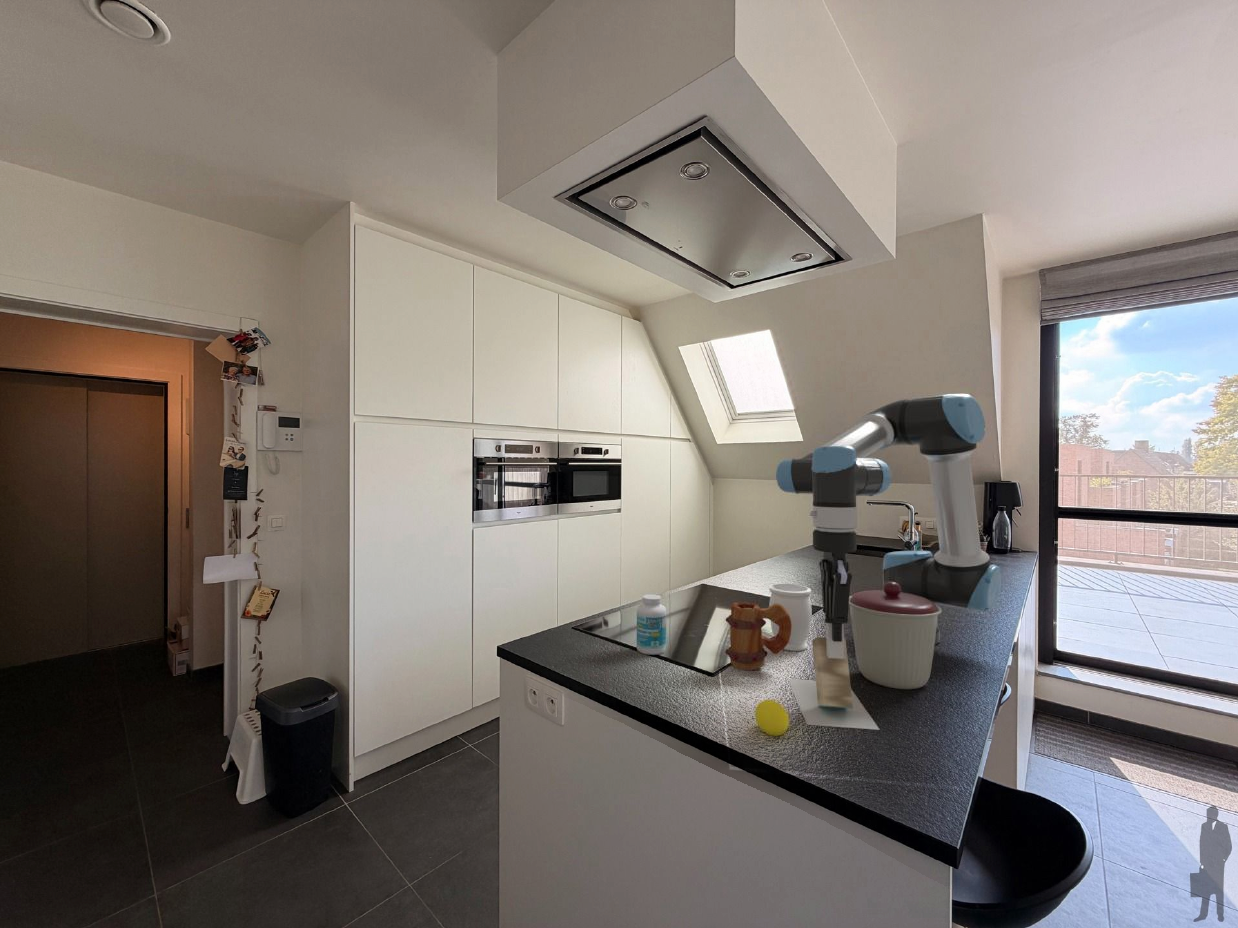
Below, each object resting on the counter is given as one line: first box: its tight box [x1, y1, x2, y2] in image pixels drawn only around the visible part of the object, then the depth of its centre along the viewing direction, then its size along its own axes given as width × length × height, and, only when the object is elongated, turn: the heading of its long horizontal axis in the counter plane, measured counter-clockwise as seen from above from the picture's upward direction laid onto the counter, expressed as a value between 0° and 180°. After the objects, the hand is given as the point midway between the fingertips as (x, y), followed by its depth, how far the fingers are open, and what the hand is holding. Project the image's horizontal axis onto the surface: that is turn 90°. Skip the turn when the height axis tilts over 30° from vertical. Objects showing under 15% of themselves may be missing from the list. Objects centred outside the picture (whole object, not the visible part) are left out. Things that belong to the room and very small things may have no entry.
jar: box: [768, 583, 813, 652], centre depth 132 cm, size 11×10×15 cm
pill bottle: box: [636, 594, 667, 656], centre depth 129 cm, size 8×7×14 cm
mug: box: [724, 602, 792, 671], centre depth 117 cm, size 15×8×15 cm, turn 70°
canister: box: [849, 582, 943, 690], centre depth 111 cm, size 18×18×21 cm
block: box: [811, 636, 853, 709], centre depth 97 cm, size 5×5×12 cm
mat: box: [787, 678, 881, 731], centre depth 99 cm, size 12×20×1 cm, turn 171°
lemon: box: [754, 699, 790, 737], centre depth 88 cm, size 7×5×5 cm
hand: (835, 656), depth 95 cm, fingers closed
